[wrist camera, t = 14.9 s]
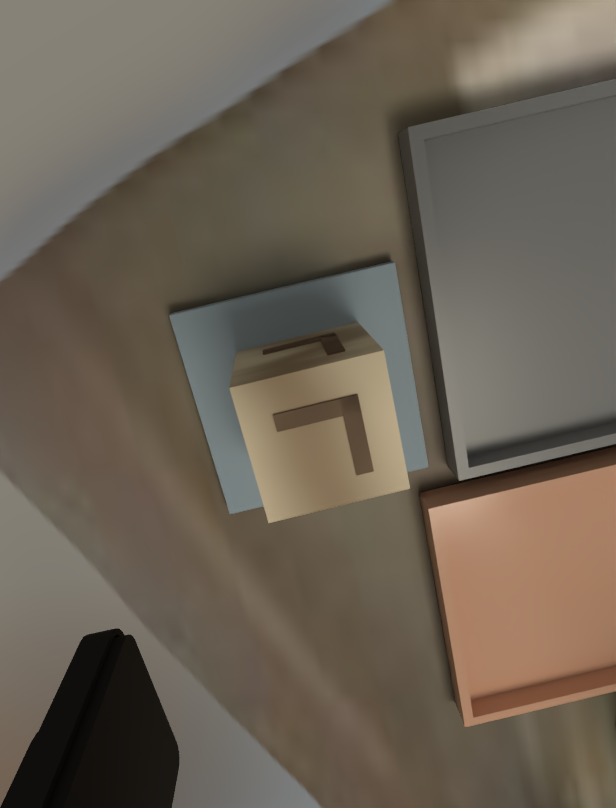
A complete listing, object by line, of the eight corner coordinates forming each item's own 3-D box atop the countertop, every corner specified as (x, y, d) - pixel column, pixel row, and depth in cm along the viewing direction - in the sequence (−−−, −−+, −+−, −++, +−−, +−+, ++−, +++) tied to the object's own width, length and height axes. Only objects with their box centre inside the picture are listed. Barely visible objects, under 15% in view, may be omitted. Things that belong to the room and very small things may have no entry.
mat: (391, 261, 22) (395, 262, 21) (424, 461, 25) (428, 467, 24) (171, 312, 22) (169, 315, 21) (230, 507, 25) (229, 514, 24)
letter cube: (357, 320, 22) (384, 348, 17) (380, 434, 24) (410, 489, 19) (235, 350, 22) (228, 386, 17) (267, 462, 24) (268, 524, 19)
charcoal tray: (763, 47, 21) (800, 35, 19) (746, 395, 25) (775, 405, 24) (397, 133, 21) (407, 127, 19) (447, 466, 25) (458, 480, 24)
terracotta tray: (693, 427, 26) (718, 440, 24) (690, 646, 30) (711, 668, 28) (419, 492, 25) (428, 509, 24) (455, 702, 30) (464, 727, 28)
